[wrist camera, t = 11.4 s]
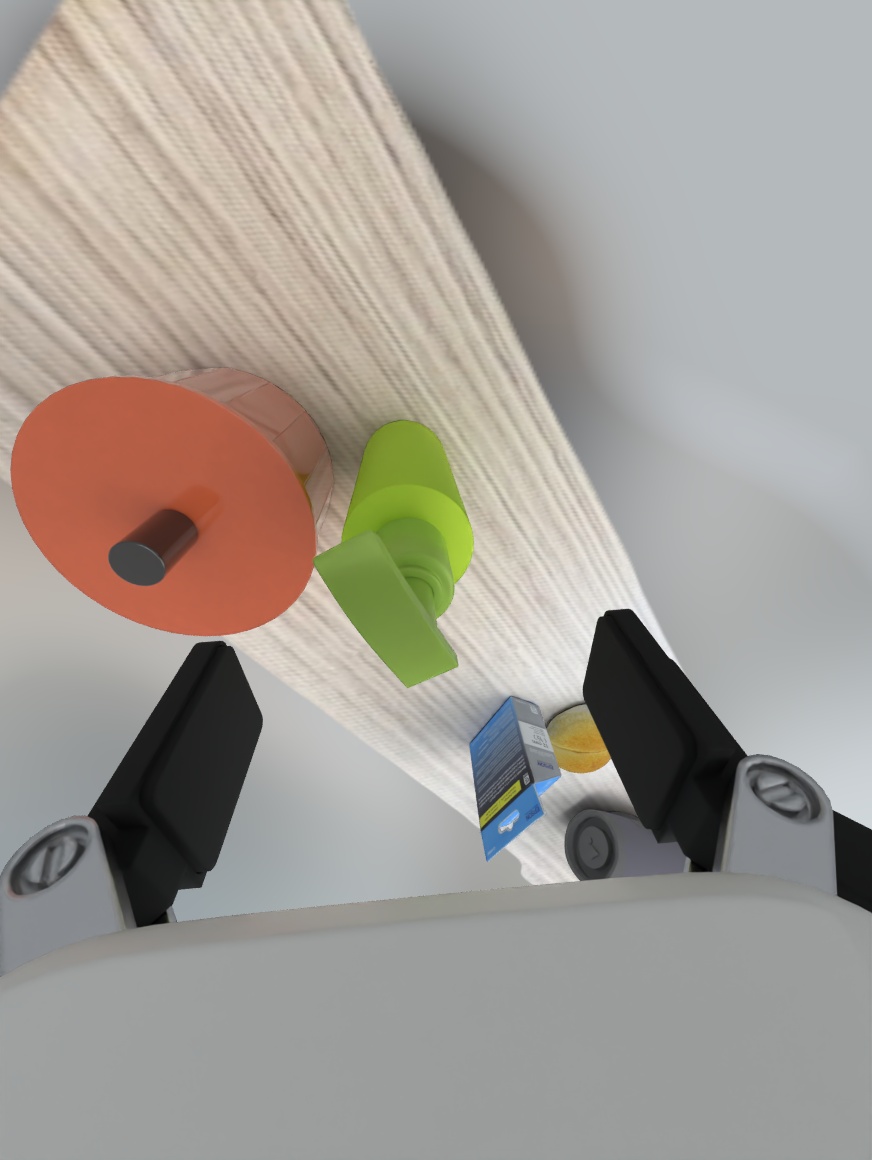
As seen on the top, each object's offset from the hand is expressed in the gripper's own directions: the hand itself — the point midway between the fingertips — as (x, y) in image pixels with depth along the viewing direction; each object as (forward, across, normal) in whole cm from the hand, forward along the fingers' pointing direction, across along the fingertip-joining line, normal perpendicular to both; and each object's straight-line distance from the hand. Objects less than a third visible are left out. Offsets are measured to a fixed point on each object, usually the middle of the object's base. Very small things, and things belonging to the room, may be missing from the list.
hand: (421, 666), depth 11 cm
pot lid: (+12, +12, +1) cm, 17 cm away
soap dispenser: (+22, +1, +1) cm, 22 cm away
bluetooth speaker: (+21, -27, +55) cm, 65 cm away
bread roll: (+21, -17, +33) cm, 42 cm away
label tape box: (+21, -8, +31) cm, 38 cm away
